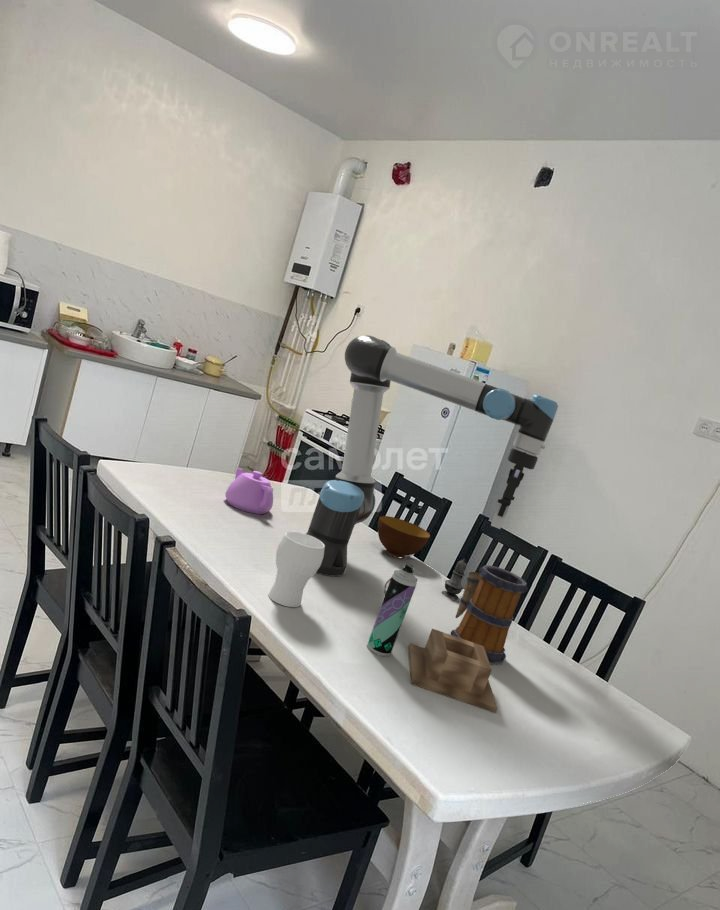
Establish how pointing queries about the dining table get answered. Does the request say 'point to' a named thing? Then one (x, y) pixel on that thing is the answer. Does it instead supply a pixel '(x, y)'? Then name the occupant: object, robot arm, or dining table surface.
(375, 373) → the robot arm
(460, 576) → the dark grey chess piece
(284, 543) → the cup
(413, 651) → the socket block
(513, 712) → the dining table surface
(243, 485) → the teapot
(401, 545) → the bowl
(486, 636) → the mug
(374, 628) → the spray can
